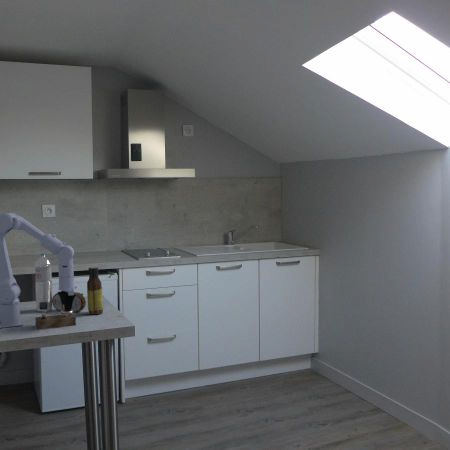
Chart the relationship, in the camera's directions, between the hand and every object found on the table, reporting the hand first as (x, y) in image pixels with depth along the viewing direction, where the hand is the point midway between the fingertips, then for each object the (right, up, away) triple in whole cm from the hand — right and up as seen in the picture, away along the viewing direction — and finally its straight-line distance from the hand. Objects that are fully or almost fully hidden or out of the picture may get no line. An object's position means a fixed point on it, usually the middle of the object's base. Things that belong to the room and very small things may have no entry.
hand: (67, 310), depth 238 cm
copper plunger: (0, -4, 0) cm, 4 cm away
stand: (-4, -6, -2) cm, 7 cm away
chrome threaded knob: (-8, -3, -4) cm, 9 cm away
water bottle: (-16, -4, +23) cm, 28 cm away
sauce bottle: (+7, -4, +18) cm, 20 cm away
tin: (-5, -4, +22) cm, 23 cm away
